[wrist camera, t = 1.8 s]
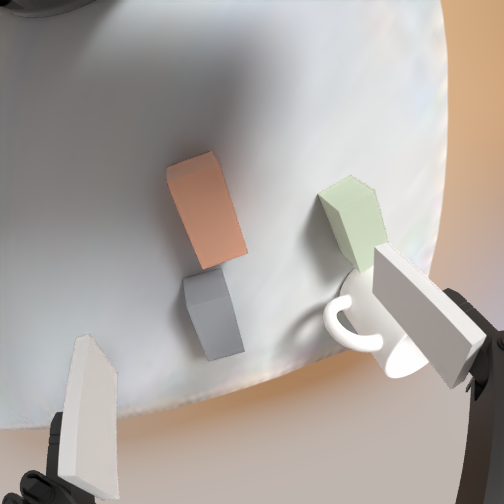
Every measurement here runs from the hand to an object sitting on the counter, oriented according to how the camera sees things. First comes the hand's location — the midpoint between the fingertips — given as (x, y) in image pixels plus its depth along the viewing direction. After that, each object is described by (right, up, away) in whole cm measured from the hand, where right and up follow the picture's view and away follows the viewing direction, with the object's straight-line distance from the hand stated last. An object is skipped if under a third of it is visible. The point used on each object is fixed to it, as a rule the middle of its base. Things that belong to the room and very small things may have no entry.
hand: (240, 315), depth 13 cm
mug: (+12, -1, +20) cm, 23 cm away
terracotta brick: (-3, +7, +11) cm, 13 cm away
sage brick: (+9, +6, +15) cm, 19 cm away
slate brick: (-3, -2, +16) cm, 17 cm away
